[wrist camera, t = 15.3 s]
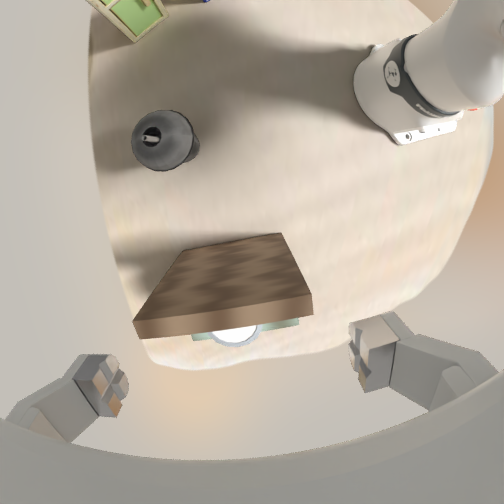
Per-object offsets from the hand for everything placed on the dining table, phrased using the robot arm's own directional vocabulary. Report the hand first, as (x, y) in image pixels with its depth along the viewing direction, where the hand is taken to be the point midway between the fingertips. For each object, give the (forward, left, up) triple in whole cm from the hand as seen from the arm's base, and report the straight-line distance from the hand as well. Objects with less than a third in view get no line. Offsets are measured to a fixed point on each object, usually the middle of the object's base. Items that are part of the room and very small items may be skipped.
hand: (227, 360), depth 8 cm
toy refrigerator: (+11, -37, -35) cm, 52 cm away
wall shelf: (+3, +11, -35) cm, 37 cm away
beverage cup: (+7, -11, -35) cm, 38 cm away
